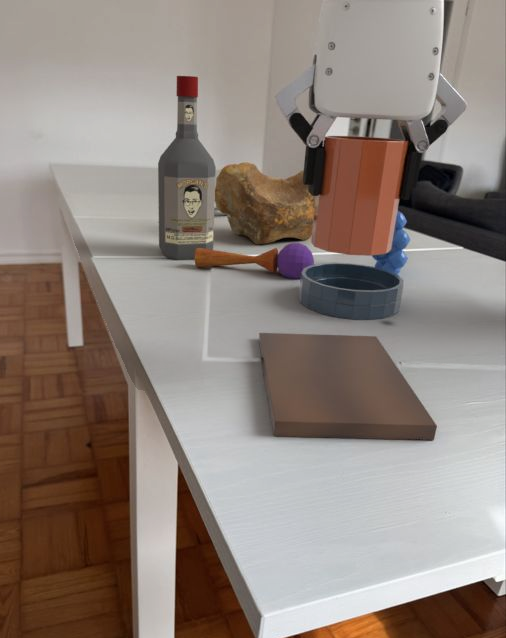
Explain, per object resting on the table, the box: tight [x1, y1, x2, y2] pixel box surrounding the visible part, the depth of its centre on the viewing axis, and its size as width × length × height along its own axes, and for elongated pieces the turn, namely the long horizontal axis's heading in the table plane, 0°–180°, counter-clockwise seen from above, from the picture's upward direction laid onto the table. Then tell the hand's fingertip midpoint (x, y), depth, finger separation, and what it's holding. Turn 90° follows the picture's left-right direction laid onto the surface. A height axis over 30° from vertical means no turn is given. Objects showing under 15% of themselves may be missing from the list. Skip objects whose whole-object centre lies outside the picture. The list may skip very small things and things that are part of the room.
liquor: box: [157, 75, 217, 261], centre depth 97 cm, size 9×9×30 cm
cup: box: [310, 135, 409, 257], centre depth 50 cm, size 7×7×10 cm
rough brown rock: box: [215, 162, 316, 245], centre depth 115 cm, size 23×17×15 cm
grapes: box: [371, 209, 411, 275], centre depth 93 cm, size 12×7×12 cm, turn 11°
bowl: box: [298, 262, 405, 321], centre depth 79 cm, size 14×14×4 cm
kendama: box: [194, 242, 315, 280], centre depth 92 cm, size 6×6×20 cm
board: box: [258, 332, 438, 441], centre depth 56 cm, size 14×20×2 cm
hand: (357, 194), depth 50 cm, fingers closed on cup, 7 cm apart
